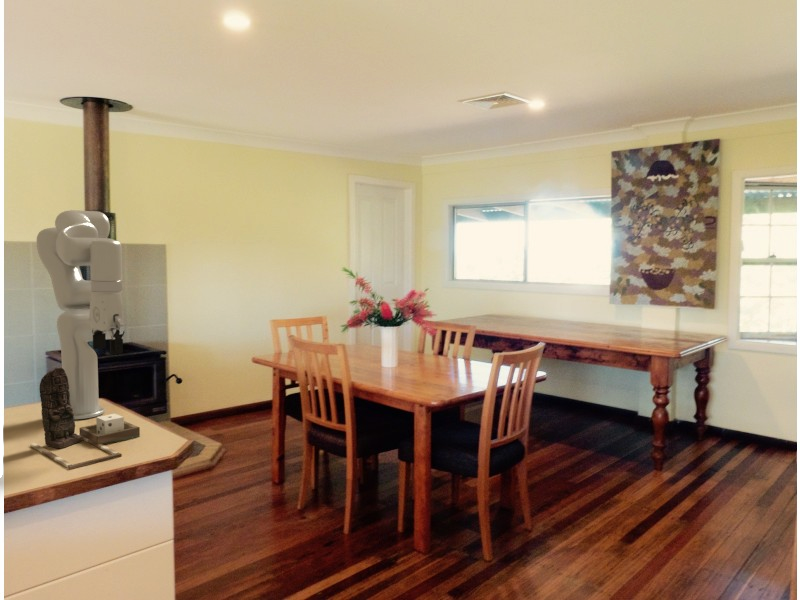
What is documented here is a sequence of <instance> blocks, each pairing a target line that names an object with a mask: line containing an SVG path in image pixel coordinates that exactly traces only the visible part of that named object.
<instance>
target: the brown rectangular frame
mask: <svg viewBox="0 0 800 600" xmlns="http://www.w3.org/2000/svg"><path fill="white" fill-rule="evenodd" d="M76 434H77V435H79V436H81V435H80V432H78V433H76ZM81 437H82V440H81V441H84V442H86V443H88V444H90V445H92V446H94V447H96V448H98V449H100V450H102V451H104V452H107V453H108V454H110V455H106V456H101V457H98V458H95V459H91V460H86V461H83V462H78V463H74V464H73V463H72V462H69V461H67V460H66V459H64V458H62V457H60V456H59V455H57V454H56V453H53V452H51V451H50V450H49V449H47V448H45V447H43V446H41V445H39V444H38V443H36V442H31V443H29V444H30V447H32V448H33V449H35V450H37V451H38V452H40V453H41V454H44V455H45V456H47V457H49V458H50V459H52V460H54V461H55V462H57V463H59V464H60V465H62V466H64V467H65V468H67V469H69V470H73V469H77V468H81V467H85V466H91V465H93V464H97V463H101V462H105V461H109V460H112V459H116V458H120V457H122V456H123V455H122V453H121V452H119V451H116V450H114V449H113V448H110V447H108V446H107V445H102V444H97V443H95V442H93V441H91V440H89V439H87V438H85V437H83V436H81Z"/></svg>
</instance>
